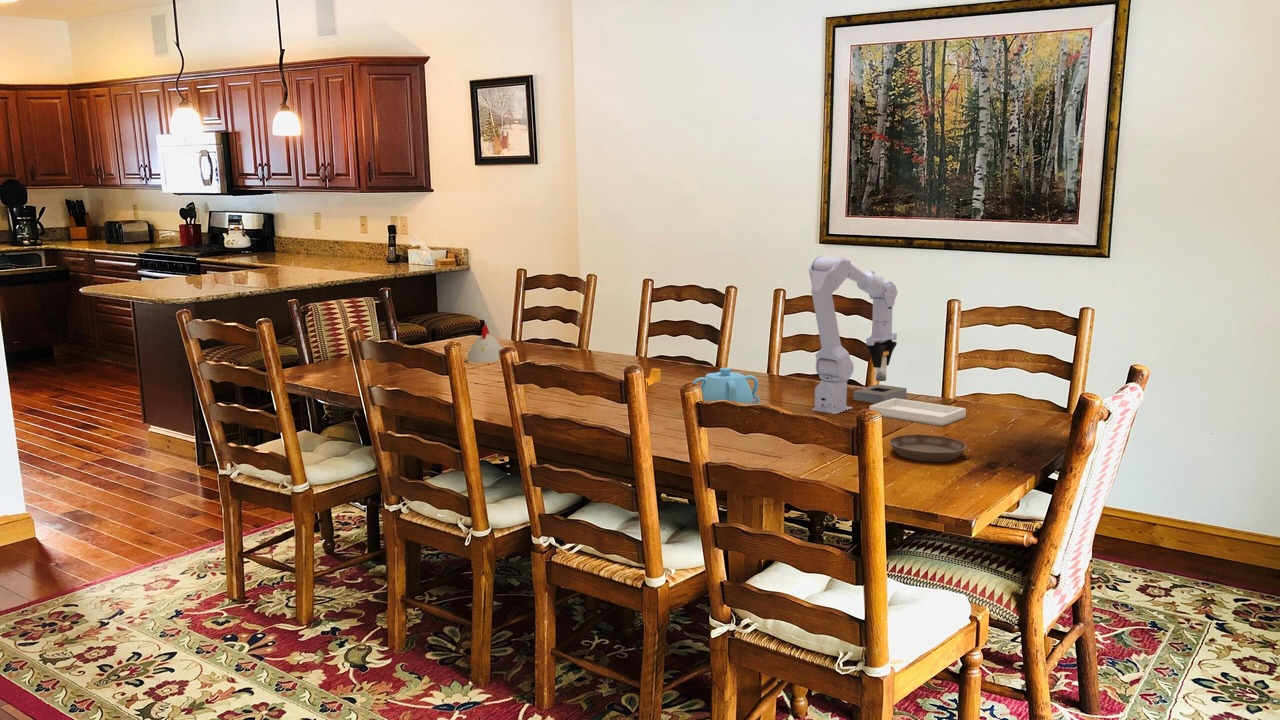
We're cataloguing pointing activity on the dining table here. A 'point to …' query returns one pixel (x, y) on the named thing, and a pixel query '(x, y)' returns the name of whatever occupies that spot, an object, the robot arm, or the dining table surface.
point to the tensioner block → (879, 393)
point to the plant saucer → (927, 447)
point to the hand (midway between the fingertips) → (880, 366)
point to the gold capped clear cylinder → (882, 368)
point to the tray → (919, 411)
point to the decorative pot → (728, 386)
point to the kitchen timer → (484, 348)
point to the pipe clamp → (654, 377)
